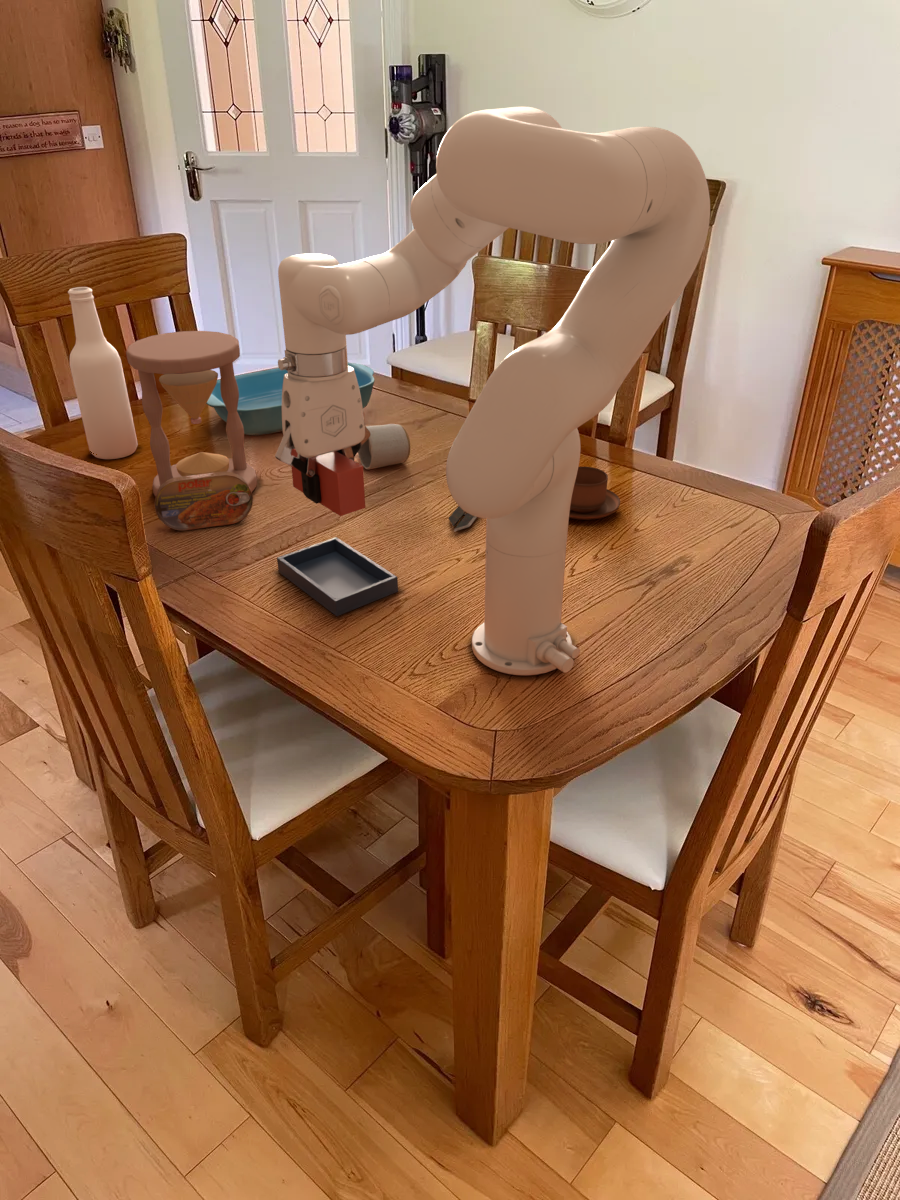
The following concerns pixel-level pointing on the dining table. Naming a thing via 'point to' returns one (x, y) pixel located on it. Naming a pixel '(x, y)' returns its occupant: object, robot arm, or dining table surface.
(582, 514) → the cup and saucer
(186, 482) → the tin
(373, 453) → the ceramic mug
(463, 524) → the knife
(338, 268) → the robot arm
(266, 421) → the casserole dish
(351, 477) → the bar
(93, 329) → the alcohol
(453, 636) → the dining table surface
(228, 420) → the hourglass
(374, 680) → the dining table surface
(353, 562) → the tray
